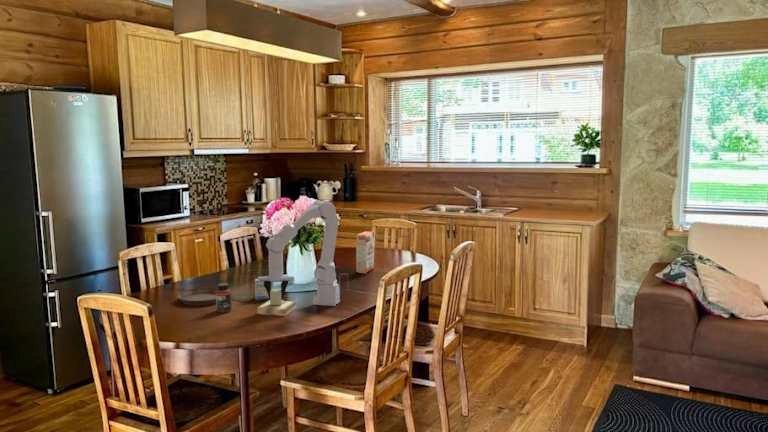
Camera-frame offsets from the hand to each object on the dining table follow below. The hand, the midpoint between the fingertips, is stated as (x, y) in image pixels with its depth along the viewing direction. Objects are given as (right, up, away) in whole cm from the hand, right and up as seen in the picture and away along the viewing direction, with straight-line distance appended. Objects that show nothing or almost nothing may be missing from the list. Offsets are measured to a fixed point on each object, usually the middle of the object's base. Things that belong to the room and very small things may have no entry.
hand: (276, 299), depth 238 cm
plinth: (0, -5, +1) cm, 5 cm away
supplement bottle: (-22, -5, 0) cm, 22 cm away
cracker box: (+34, +4, +72) cm, 80 cm away
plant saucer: (-35, -3, +16) cm, 39 cm away
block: (0, -2, 0) cm, 2 cm away
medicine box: (-9, -3, +20) cm, 22 cm away
